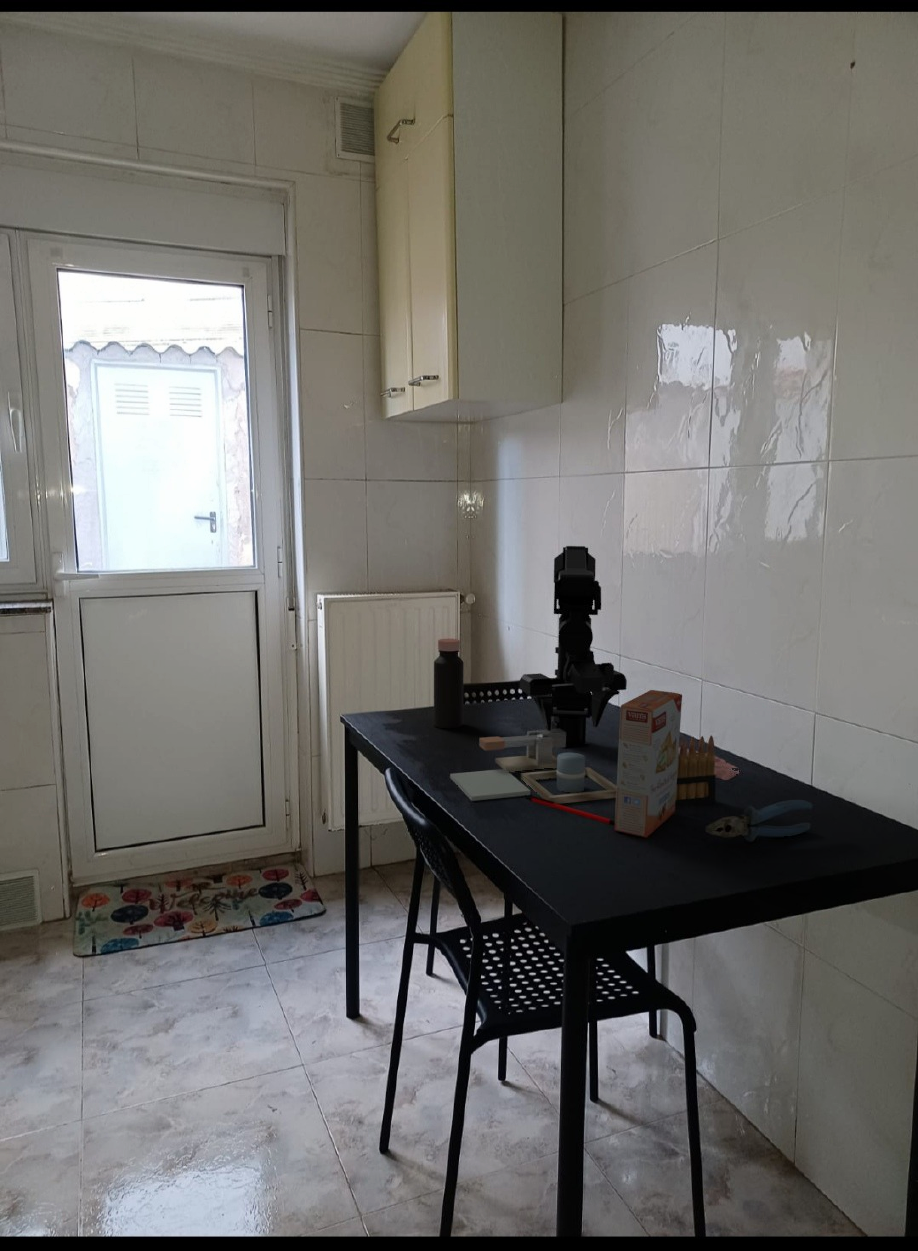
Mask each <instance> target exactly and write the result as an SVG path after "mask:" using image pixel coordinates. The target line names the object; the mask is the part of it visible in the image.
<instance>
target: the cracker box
mask: <svg viewBox="0 0 918 1251" xmlns="http://www.w3.org/2000/svg"><path fill="white" fill-rule="evenodd" d="M682 704H683V694H682V693H679V692H672V691H664V690H657V689H656V690H655V689H650V690H648V691H646V692H644V693H641V695H638V696H636V697H634V698H633V699H630V700H628V701H627V702H624V703H623V704H621V705H620V710H619V711H620V713H619V732H618V750H617V751H618V752H617V773H616V775H617V776H616V786H617V790H616V798H615V812H614V813H615V814H614V822H615V825H614V831H616V832H619V833H623V834H626V835H627V834H628V835H633V836H636V837H640V836H641V838H646V839H647V838H648V837H649V836H651V834H652V833H654V832H655V830H657V829H658V828H659V827H660V826H661V825H662V824H663V823H665V822H666V821H667V820H668V819H669V818H670V817H671V816H672V815H673V814H674V813H676V807H675V801H676V786H677V770H678V760H679V759H678V753H679V747H680V736H681V734H680V733H681V721H682V720H681V718H682V707H683V706H682Z"/></svg>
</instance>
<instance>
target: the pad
mask: <svg viewBox="0 0 918 1251" xmlns="http://www.w3.org/2000/svg"><path fill="white" fill-rule="evenodd" d="M449 775H450V776H449V778H450V779H451V780H452V781H453V783H454V784H455V785H456V786H457V785H458V786H457V787H458V788H459V789H460V790H461V791H462V792H463V793H464V794H465V795H466V797H468V799H469V800H470V801H471V802H475V801H483V800H494V799H504V798H514V797H515V798H516V797H522V796H523V797H524V796H525V795H526V796H530V795H531V790H530V789H529V787H526V785H524V784H523V783H522V782H521V781H520V780H519V779H517V777H515V776H514V775H513V774H512V773H511V772H510V773H509V772H508V771H507V770H506V769H503V768H500V769H489V770H480V771H479V770H478V771H470V772H469V771H467V772H457V773H456V772H455V773H450V774H449ZM526 796H525V797H526Z"/></svg>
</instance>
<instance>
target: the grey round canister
mask: <svg viewBox="0 0 918 1251" xmlns="http://www.w3.org/2000/svg"><path fill="white" fill-rule="evenodd" d="M556 758H557V768H556V770H557V773H556V774H557V778H556V790H558V791H560V792H562V791H564V792H563V793H567V792H570V793H569V794H573V793H577V792H578V793H582V792H583V791H584V790H585V777H586V775H585V767H586V756H585V755H584V754H582V753H578V752H577V753H576V752H562V753H559V754H558V755H557V756H556ZM581 791H582V792H581Z"/></svg>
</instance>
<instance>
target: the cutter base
mask: <svg viewBox="0 0 918 1251" xmlns="http://www.w3.org/2000/svg"><path fill="white" fill-rule="evenodd" d="M526 735H537V730H527V731H526ZM552 746H553V738H552V737H542V738H536V745H531V746H526V755H517V756H507V757H495V758H494V762H495V763H496V764H497V765H498V766H499V767H500V769H506V770H507V771H508V772H510V773H516V772H515V771H521V772H523V771H522V770H532V771H535V770H534V769H543V770H545V769H544V768H553V769H557V756H555V755H554V754H553V748H552Z"/></svg>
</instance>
